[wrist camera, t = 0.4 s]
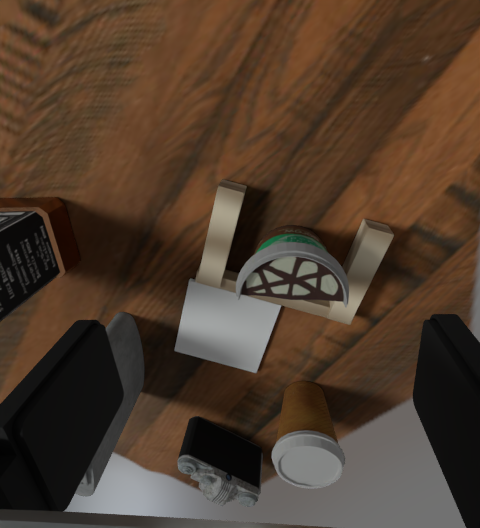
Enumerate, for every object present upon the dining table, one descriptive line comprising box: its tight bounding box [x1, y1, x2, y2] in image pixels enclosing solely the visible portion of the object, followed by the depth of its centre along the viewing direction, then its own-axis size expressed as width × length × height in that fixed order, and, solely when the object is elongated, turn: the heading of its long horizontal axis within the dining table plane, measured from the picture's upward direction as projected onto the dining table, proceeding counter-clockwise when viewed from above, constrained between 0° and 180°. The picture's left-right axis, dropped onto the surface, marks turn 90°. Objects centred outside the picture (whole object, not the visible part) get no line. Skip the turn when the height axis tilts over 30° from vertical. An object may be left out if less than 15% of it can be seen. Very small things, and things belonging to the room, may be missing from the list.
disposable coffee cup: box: [272, 381, 345, 488], centre depth 51 cm, size 10×10×12 cm
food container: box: [236, 225, 349, 308], centre depth 40 cm, size 12×6×10 cm, turn 89°
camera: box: [178, 416, 263, 507], centre depth 60 cm, size 15×7×10 cm, turn 59°
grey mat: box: [174, 278, 281, 373], centre depth 52 cm, size 13×13×1 cm
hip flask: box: [75, 312, 144, 496], centre depth 48 cm, size 16×4×20 cm, turn 179°
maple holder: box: [195, 179, 394, 325], centre depth 44 cm, size 13×21×3 cm, turn 76°
